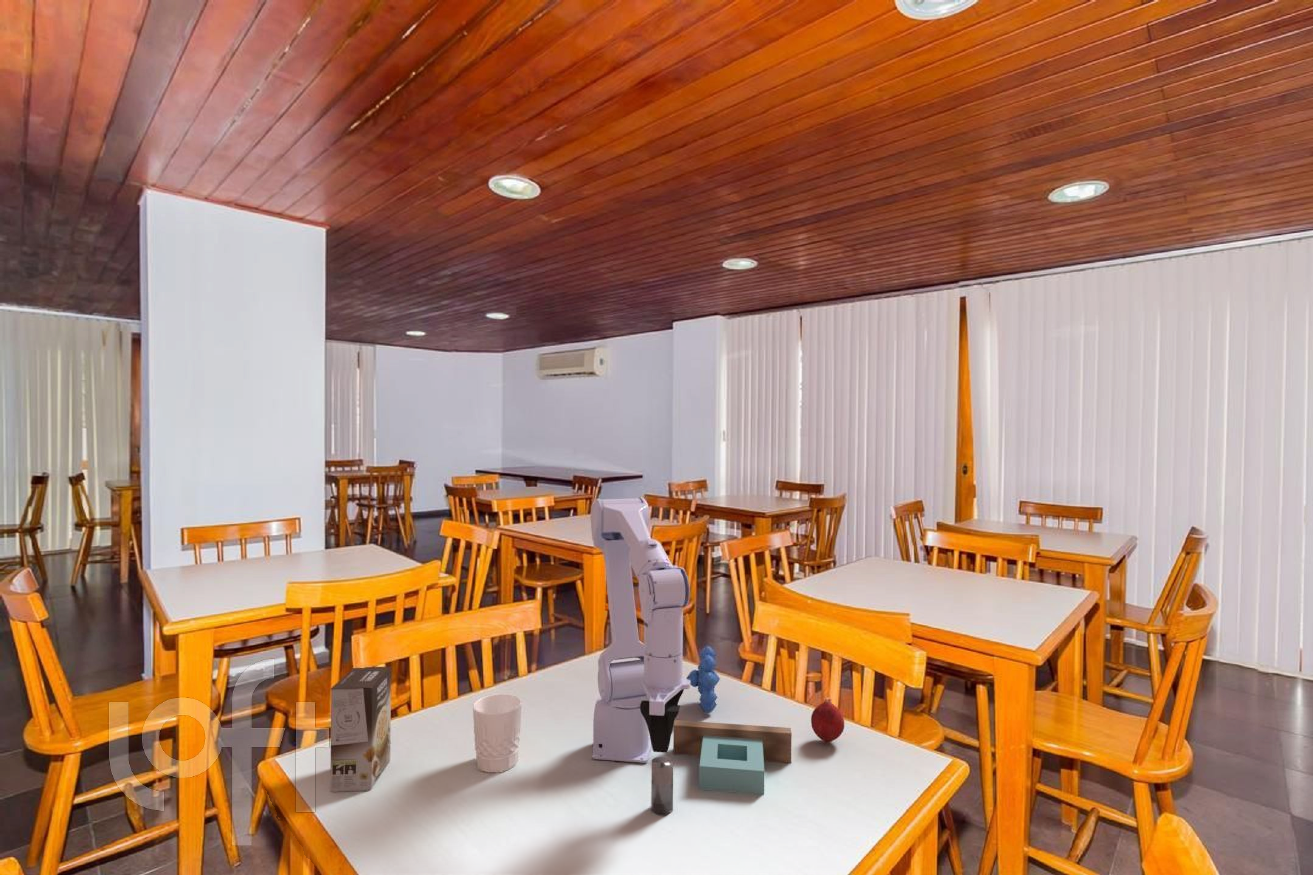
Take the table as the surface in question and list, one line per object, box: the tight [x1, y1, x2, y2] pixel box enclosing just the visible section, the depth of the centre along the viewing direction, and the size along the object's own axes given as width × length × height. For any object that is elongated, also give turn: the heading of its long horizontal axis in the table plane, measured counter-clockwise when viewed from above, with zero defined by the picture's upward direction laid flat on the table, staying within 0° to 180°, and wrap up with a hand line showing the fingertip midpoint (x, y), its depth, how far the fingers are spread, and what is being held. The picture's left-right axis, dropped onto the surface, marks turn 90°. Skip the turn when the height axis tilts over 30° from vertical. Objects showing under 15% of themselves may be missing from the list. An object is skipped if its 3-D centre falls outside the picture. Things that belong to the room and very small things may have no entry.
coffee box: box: [329, 666, 392, 793], centre depth 102 cm, size 9×6×16 cm
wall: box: [672, 719, 793, 764], centre depth 110 cm, size 20×2×5 cm, turn 82°
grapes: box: [686, 645, 721, 714], centre depth 128 cm, size 12×7×12 cm, turn 178°
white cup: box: [472, 693, 522, 773], centre depth 107 cm, size 8×8×10 cm
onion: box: [810, 697, 845, 744], centre depth 114 cm, size 6×6×8 cm
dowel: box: [650, 756, 674, 817], centre depth 94 cm, size 3×3×7 cm
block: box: [698, 735, 765, 795], centre depth 104 cm, size 10×10×4 cm
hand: (662, 742), depth 94 cm, fingers open, 4 cm apart
